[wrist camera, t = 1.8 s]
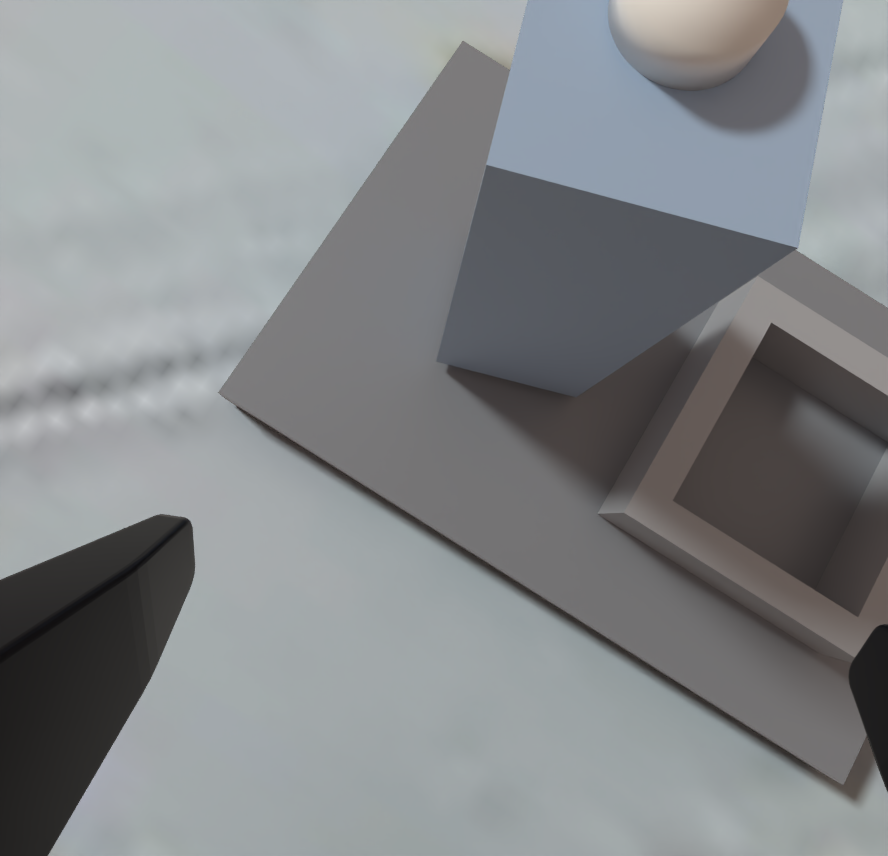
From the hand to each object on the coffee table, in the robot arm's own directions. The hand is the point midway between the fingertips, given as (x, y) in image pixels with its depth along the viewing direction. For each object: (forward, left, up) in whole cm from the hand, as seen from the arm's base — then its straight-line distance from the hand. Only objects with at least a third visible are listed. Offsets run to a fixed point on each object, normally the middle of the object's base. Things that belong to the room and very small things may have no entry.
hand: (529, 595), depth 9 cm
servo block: (+6, -4, -11) cm, 14 cm away
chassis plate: (+3, -7, -13) cm, 15 cm away
